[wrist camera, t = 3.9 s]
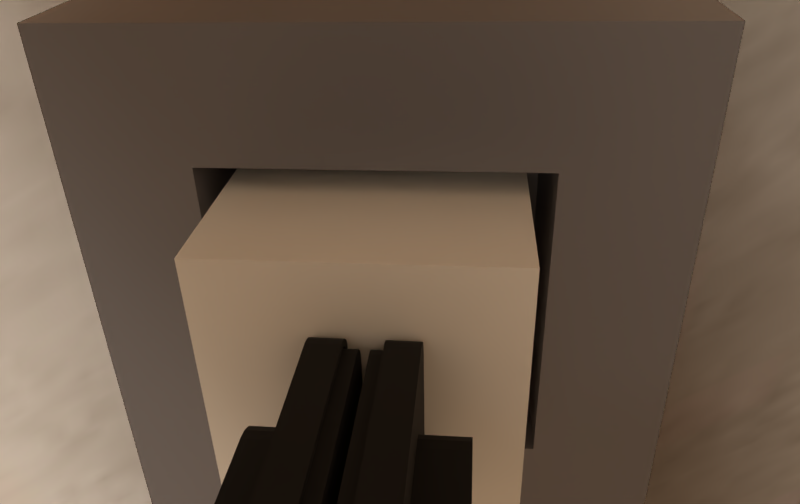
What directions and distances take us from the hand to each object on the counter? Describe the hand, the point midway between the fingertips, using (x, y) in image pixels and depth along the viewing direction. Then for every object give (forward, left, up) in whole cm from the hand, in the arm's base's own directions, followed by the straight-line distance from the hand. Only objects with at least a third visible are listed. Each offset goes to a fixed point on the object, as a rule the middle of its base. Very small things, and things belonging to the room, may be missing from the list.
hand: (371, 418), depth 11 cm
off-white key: (0, 0, -4) cm, 4 cm away
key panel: (+8, 0, -7) cm, 10 cm away
